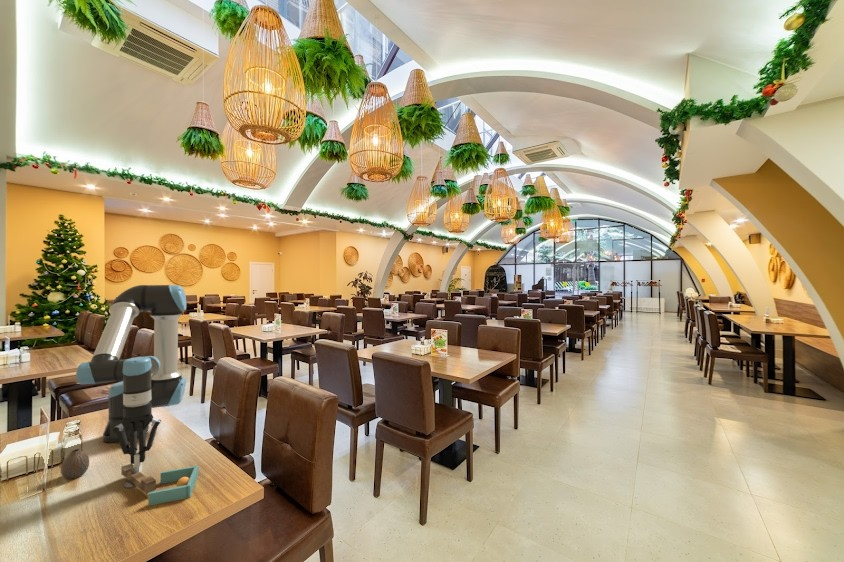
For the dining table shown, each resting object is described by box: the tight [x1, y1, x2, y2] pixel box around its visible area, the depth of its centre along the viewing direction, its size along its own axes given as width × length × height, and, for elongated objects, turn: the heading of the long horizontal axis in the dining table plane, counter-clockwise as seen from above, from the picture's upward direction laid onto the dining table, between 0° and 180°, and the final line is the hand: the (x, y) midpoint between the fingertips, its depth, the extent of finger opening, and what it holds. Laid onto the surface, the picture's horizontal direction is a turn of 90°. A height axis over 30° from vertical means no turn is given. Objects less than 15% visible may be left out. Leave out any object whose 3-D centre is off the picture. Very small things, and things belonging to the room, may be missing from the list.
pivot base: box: [123, 480, 137, 489], centre depth 114 cm, size 5×5×1 cm
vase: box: [60, 448, 90, 480], centre depth 118 cm, size 7×7×9 cm
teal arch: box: [147, 465, 199, 506], centre depth 111 cm, size 13×10×4 cm
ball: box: [176, 477, 190, 487], centre depth 112 cm, size 4×4×4 cm
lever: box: [120, 462, 157, 495], centre depth 113 cm, size 20×2×4 cm, turn 58°
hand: (138, 471), depth 119 cm, fingers closed
